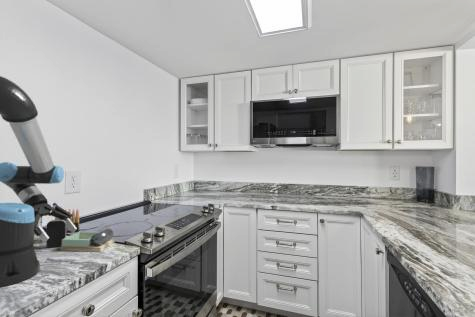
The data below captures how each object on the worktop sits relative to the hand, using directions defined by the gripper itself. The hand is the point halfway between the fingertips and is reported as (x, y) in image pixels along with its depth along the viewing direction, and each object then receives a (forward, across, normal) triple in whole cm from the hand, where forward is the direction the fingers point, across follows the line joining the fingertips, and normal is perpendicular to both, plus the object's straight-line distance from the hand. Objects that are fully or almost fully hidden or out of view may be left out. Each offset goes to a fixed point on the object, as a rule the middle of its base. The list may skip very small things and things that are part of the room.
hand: (61, 235), depth 105 cm
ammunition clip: (-7, -17, -14) cm, 23 cm away
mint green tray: (+11, -3, +4) cm, 12 cm away
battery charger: (+2, 0, -5) cm, 6 cm away
